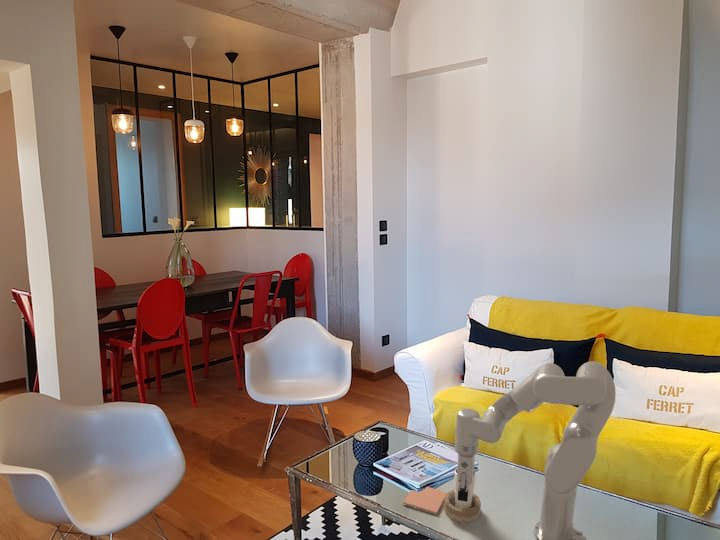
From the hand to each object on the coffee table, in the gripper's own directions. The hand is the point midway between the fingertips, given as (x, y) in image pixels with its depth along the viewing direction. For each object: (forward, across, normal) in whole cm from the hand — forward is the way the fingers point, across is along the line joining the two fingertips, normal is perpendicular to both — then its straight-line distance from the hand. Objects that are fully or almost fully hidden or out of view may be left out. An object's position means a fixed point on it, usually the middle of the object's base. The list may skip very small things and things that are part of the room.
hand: (463, 493), depth 188 cm
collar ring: (+7, 0, 0) cm, 7 cm away
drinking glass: (+7, 0, 0) cm, 7 cm away
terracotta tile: (+7, +2, +13) cm, 15 cm away
